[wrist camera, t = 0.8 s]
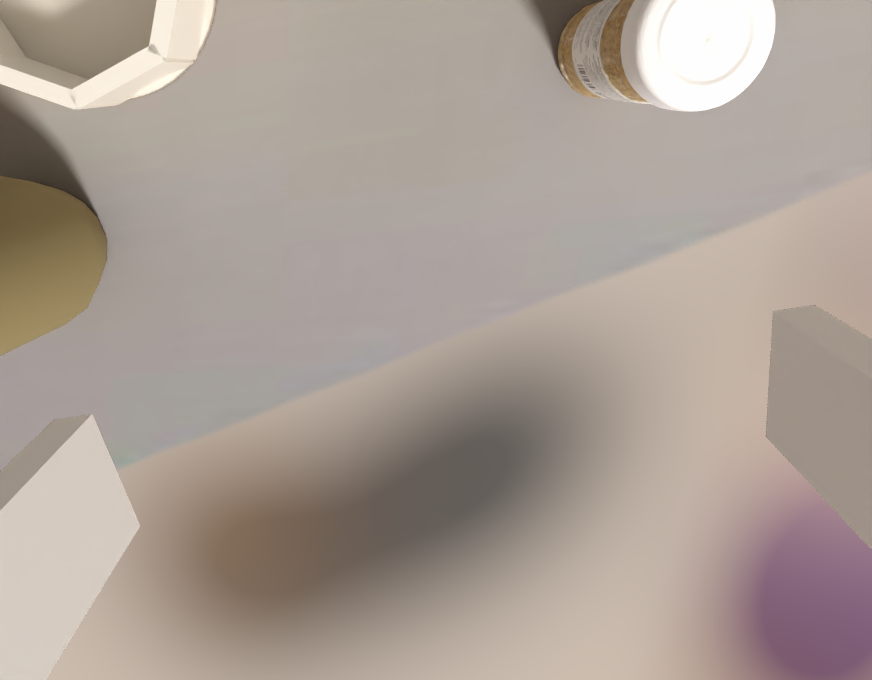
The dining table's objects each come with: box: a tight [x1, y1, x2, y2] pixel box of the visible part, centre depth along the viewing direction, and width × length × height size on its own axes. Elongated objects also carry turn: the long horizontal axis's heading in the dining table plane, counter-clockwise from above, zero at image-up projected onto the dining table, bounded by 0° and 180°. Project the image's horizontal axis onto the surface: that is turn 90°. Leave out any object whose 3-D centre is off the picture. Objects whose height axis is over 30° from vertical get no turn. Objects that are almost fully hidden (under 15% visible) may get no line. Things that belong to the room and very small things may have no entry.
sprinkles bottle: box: [558, 0, 775, 111], centre depth 26 cm, size 5×5×13 cm
